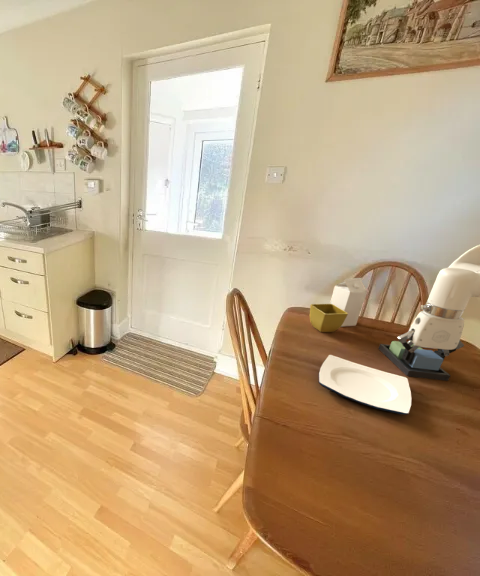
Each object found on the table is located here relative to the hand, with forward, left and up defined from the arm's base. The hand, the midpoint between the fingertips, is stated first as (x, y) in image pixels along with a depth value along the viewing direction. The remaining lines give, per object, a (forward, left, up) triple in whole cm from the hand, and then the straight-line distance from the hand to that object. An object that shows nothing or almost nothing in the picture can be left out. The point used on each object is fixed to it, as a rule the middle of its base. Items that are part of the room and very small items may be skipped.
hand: (420, 362), depth 96 cm
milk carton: (+9, -31, -3) cm, 32 cm away
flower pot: (+18, -23, -3) cm, 29 cm away
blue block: (0, 0, -1) cm, 1 cm away
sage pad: (0, -7, -2) cm, 7 cm away
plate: (+21, +13, -3) cm, 25 cm away
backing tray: (0, -4, -3) cm, 4 cm away
